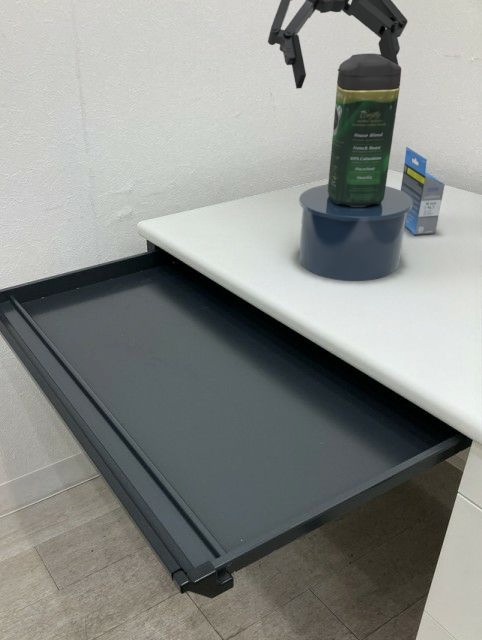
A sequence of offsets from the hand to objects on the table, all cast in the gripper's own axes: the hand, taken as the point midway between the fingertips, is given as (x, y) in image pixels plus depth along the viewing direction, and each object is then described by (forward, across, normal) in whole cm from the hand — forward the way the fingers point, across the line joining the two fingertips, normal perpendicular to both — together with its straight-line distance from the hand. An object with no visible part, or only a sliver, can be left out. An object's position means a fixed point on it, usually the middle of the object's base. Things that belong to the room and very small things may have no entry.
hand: (347, 79), depth 84 cm
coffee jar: (+16, 0, -5) cm, 17 cm away
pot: (+23, 0, -12) cm, 26 cm away
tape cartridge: (+15, -16, -20) cm, 30 cm away
